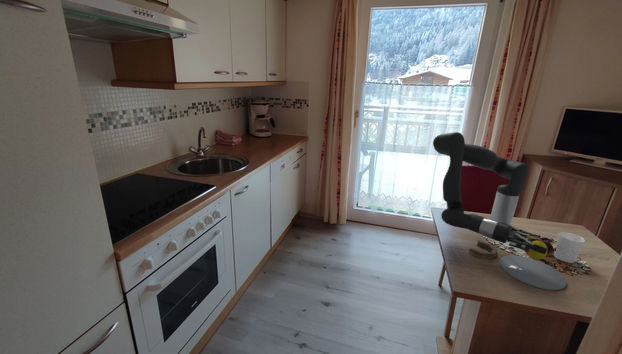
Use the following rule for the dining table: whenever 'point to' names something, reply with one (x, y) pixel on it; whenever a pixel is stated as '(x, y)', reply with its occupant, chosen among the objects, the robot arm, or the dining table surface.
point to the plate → (533, 272)
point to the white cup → (568, 247)
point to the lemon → (535, 254)
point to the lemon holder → (484, 254)
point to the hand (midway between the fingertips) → (547, 248)
